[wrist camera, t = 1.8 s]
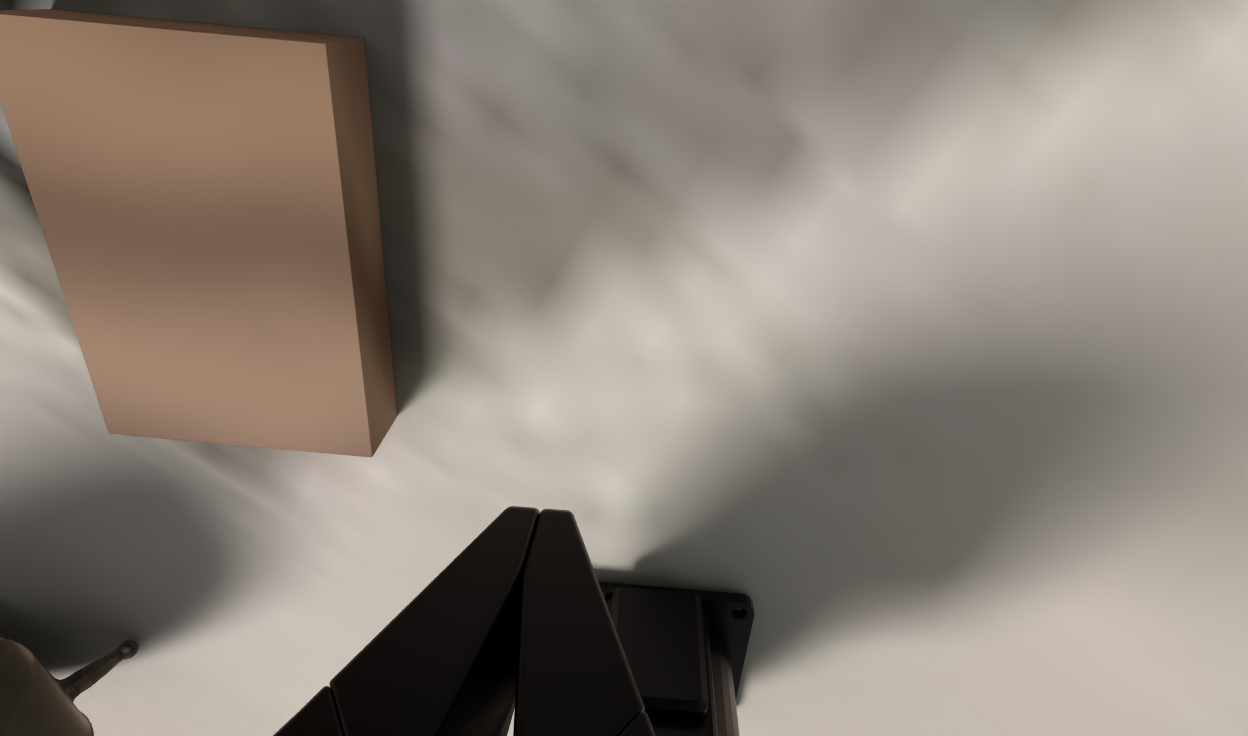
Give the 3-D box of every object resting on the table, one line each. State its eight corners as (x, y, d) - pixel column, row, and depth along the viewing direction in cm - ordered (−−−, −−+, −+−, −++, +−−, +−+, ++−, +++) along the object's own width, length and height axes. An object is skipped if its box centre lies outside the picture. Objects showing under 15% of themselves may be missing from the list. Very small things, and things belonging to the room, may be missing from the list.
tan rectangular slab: (402, 408, 21) (372, 457, 19) (167, 386, 21) (109, 433, 18) (371, 36, 16) (325, 43, 14) (65, 9, 16) (-29, 11, 14)
